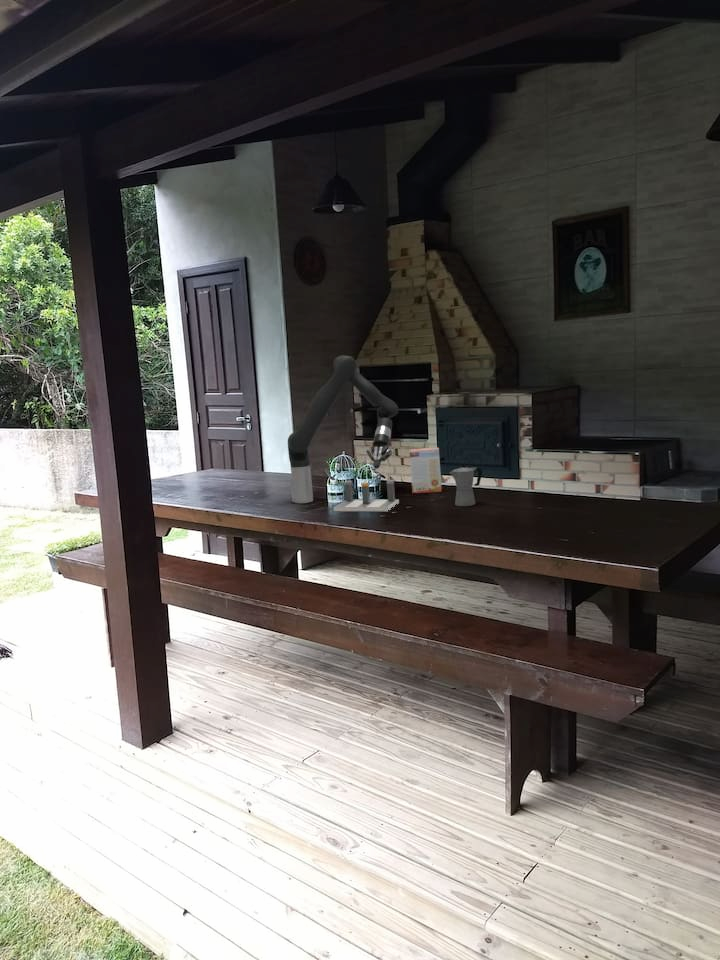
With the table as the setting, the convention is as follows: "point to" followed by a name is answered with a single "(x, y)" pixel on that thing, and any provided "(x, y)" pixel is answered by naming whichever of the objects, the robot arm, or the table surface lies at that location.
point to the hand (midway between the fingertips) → (376, 467)
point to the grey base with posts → (374, 503)
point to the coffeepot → (465, 484)
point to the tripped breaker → (365, 492)
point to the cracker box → (425, 470)
